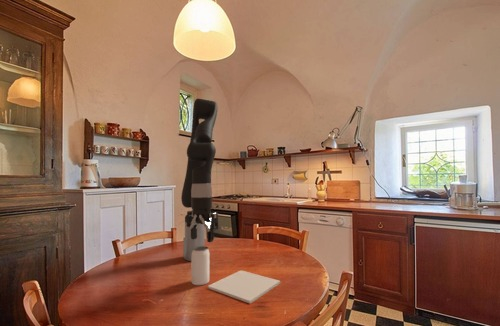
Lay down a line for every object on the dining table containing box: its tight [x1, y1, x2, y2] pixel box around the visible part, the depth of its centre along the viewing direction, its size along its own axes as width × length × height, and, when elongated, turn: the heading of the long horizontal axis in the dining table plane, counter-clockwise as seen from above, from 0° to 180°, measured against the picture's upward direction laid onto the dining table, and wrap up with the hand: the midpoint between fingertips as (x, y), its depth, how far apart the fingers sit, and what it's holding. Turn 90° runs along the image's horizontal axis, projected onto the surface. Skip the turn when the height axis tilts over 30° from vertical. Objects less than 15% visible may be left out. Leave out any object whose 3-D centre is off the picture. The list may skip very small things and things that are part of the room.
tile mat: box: [207, 269, 281, 304], centre depth 86 cm, size 18×18×1 cm
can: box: [190, 245, 211, 287], centre depth 89 cm, size 6×6×12 cm
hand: (201, 240), depth 90 cm, fingers open, 8 cm apart
